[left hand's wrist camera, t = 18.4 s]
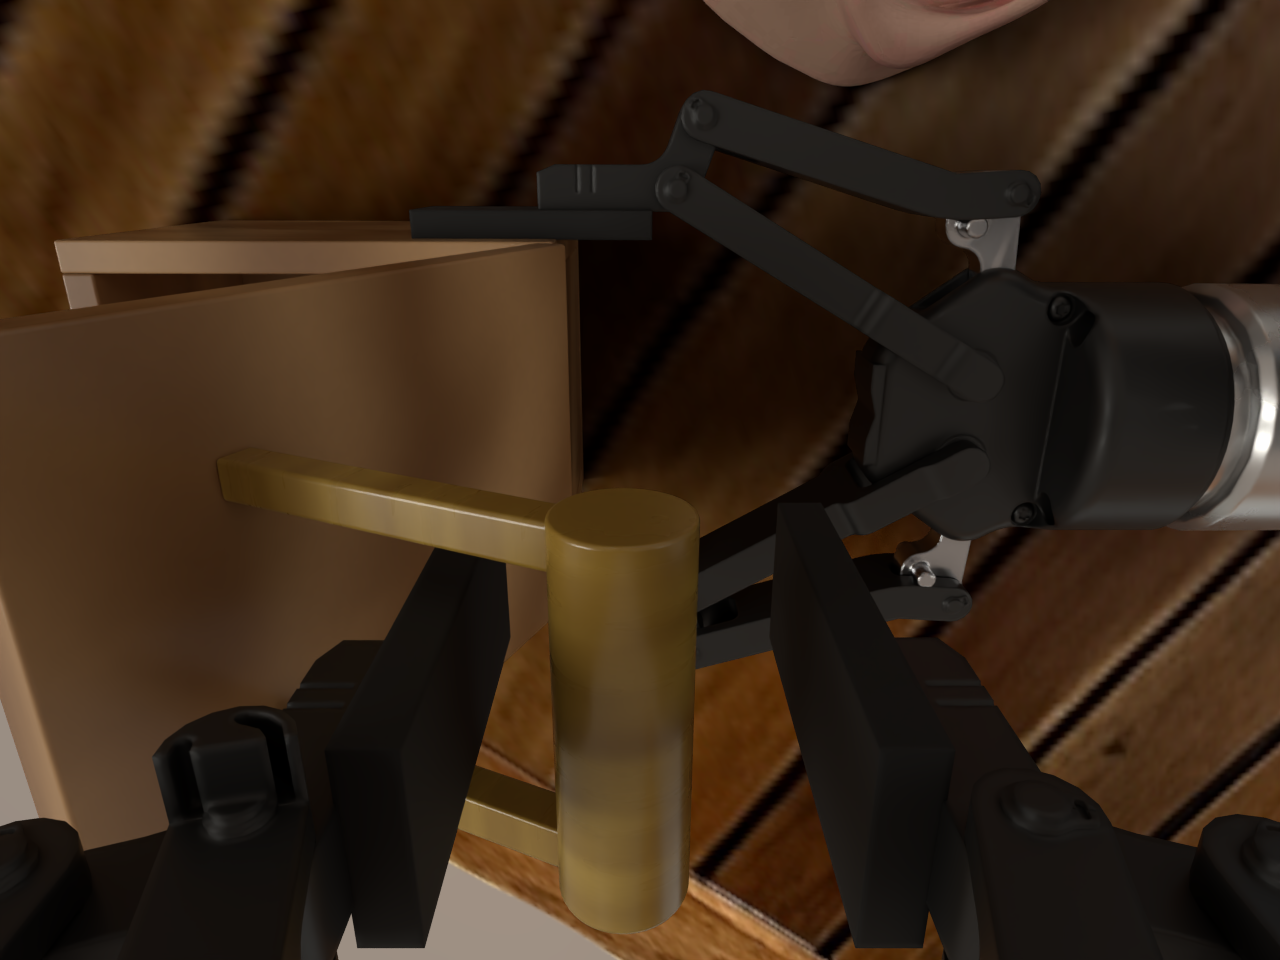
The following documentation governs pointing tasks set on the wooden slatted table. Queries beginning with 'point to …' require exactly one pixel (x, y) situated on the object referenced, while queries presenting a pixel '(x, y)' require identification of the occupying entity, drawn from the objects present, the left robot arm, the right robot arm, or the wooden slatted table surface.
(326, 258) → the chest
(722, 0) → the anatomical model
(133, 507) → the lid
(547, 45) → the wooden slatted table surface
